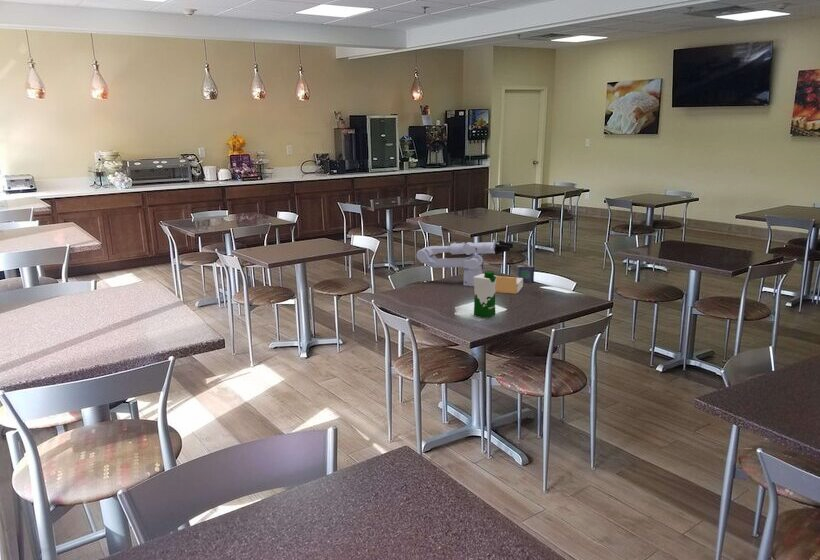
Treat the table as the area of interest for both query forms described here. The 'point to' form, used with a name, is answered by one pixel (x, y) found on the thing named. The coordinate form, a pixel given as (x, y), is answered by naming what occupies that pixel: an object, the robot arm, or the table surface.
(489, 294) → the milk carton
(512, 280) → the door
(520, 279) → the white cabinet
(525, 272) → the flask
